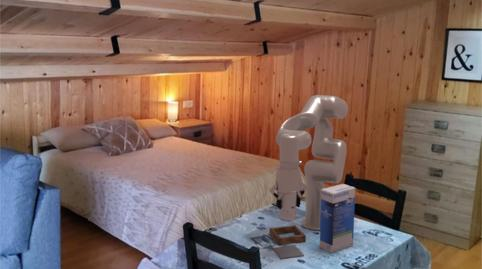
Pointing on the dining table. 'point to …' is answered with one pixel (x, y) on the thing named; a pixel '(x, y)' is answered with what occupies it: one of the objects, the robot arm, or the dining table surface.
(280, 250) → the mat
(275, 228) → the holder
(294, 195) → the skincare box
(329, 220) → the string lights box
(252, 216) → the dining table surface
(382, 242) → the dining table surface
